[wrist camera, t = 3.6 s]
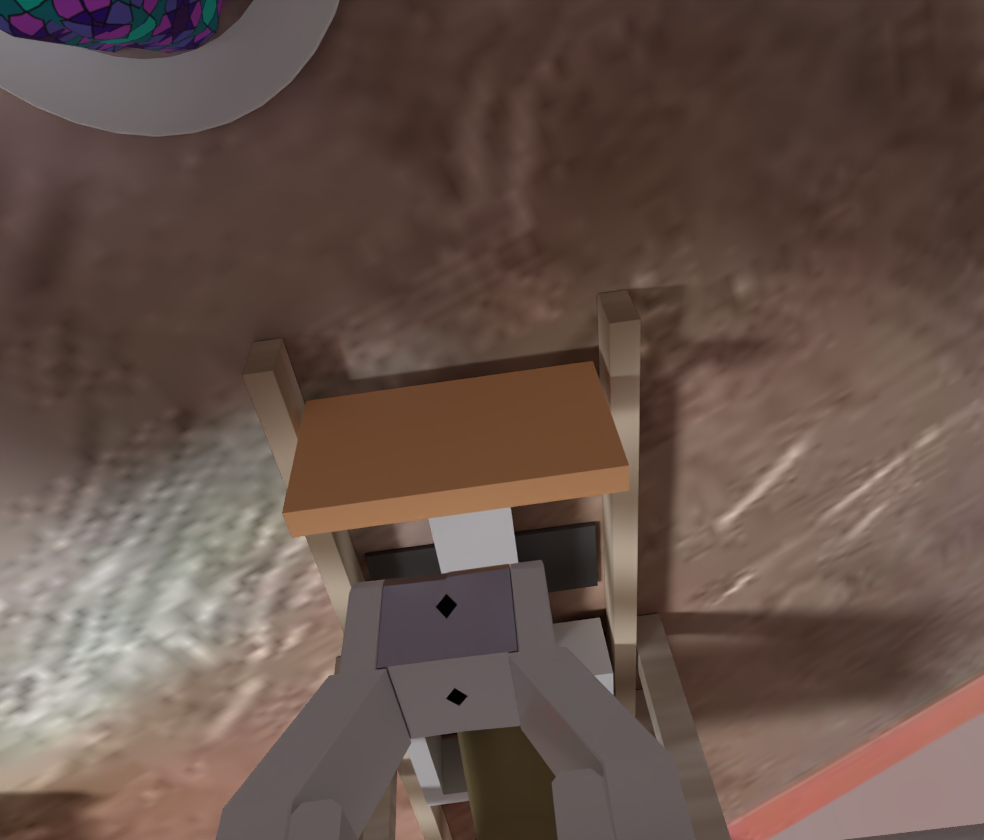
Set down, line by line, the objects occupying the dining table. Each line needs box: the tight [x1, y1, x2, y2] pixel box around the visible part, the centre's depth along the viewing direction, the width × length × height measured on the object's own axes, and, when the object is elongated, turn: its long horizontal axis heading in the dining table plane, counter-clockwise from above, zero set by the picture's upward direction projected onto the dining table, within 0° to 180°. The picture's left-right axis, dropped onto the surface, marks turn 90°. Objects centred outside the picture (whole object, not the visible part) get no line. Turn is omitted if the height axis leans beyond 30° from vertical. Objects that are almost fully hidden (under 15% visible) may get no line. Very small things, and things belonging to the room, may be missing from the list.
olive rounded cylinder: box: [457, 726, 558, 840], centre depth 34 cm, size 6×6×11 cm
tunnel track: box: [242, 290, 731, 840], centre depth 31 cm, size 40×16×14 cm, turn 7°
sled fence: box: [282, 361, 629, 806], centre depth 31 cm, size 25×10×6 cm, turn 7°
